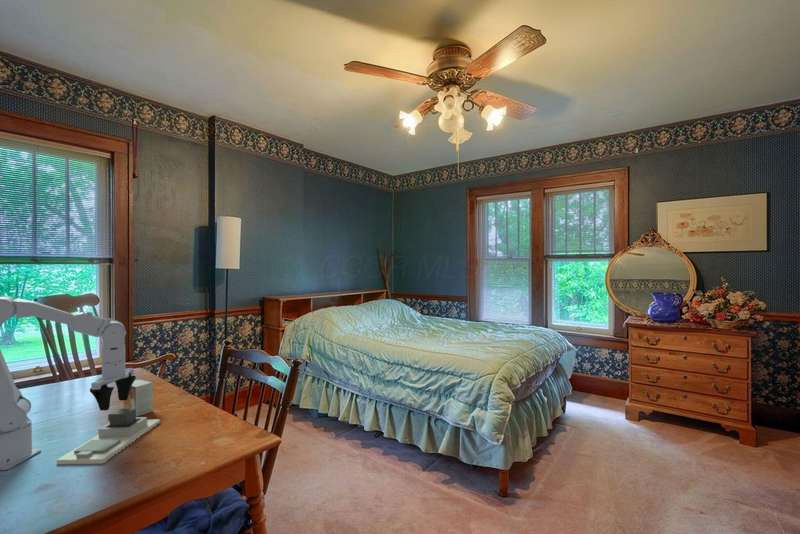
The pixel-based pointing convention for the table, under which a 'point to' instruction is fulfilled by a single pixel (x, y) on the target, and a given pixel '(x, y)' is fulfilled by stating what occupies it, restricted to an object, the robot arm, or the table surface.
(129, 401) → the small box
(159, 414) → the table surface
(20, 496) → the table surface
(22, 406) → the robot arm
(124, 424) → the plug
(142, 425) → the socket base board
